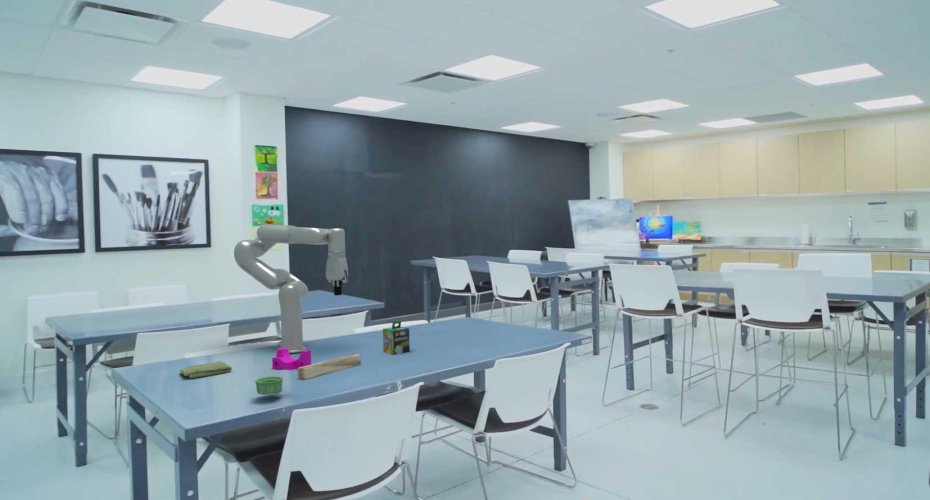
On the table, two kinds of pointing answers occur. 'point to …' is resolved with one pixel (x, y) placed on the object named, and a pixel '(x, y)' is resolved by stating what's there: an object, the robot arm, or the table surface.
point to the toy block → (290, 360)
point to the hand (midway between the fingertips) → (337, 295)
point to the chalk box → (396, 339)
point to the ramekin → (269, 385)
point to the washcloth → (206, 369)
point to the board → (328, 366)
